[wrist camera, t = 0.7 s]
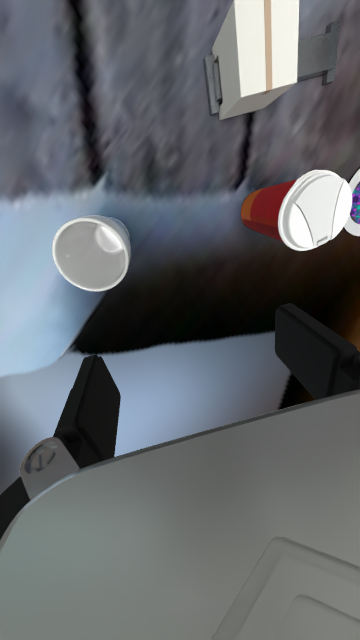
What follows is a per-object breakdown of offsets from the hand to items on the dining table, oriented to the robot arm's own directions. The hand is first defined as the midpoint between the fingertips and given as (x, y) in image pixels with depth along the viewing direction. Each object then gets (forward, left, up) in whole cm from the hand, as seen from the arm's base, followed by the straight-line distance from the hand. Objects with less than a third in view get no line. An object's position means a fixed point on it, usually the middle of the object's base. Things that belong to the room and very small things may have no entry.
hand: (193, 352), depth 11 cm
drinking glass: (-4, -6, -27) cm, 28 cm away
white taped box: (-17, +15, -27) cm, 35 cm away
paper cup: (-2, +17, -27) cm, 32 cm away
